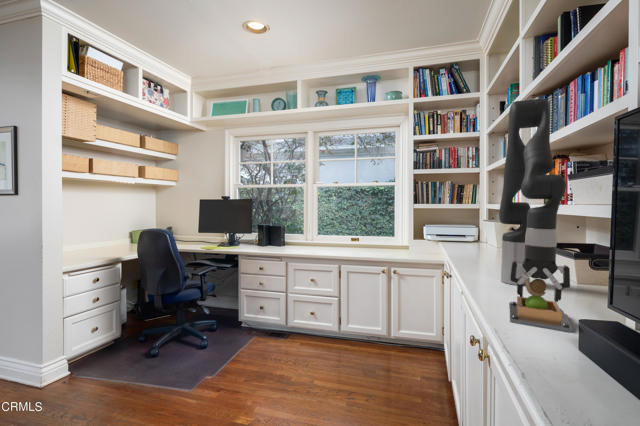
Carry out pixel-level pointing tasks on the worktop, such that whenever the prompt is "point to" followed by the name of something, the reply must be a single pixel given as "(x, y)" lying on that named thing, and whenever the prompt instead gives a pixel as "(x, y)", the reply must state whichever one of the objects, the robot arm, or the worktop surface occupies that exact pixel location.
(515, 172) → the robot arm
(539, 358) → the worktop surface
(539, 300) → the snail figurine
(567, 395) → the worktop surface
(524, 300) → the socket plate
